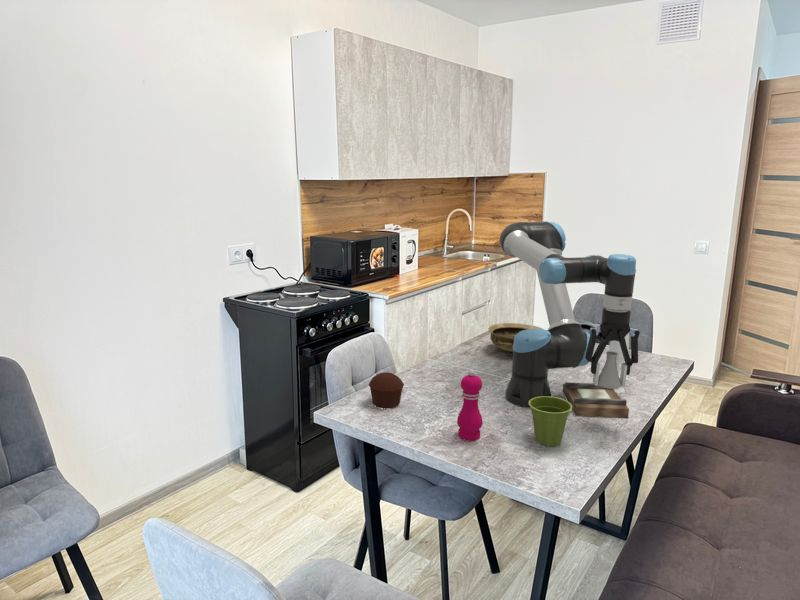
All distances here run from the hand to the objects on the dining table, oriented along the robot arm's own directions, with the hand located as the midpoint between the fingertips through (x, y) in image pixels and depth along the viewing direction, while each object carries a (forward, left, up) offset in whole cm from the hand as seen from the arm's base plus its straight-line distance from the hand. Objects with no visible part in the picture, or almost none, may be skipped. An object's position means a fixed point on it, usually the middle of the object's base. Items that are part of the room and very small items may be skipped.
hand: (608, 384), depth 165 cm
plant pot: (-19, -11, -14) cm, 26 cm away
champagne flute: (+12, +31, -14) cm, 36 cm away
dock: (+1, +17, -13) cm, 21 cm away
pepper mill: (-41, -10, -14) cm, 44 cm away
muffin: (-67, +11, -14) cm, 69 cm away
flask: (0, 0, 0) cm, 0 cm away
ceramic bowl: (-17, +69, -14) cm, 72 cm away
